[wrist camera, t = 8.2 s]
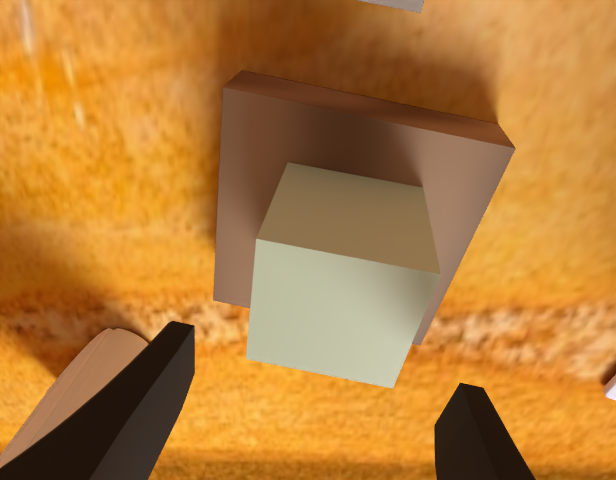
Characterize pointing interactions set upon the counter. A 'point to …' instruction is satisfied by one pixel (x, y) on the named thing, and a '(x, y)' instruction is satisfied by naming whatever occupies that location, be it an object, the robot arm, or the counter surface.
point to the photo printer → (77, 386)
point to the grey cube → (400, 4)
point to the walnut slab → (347, 166)
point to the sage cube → (341, 275)
